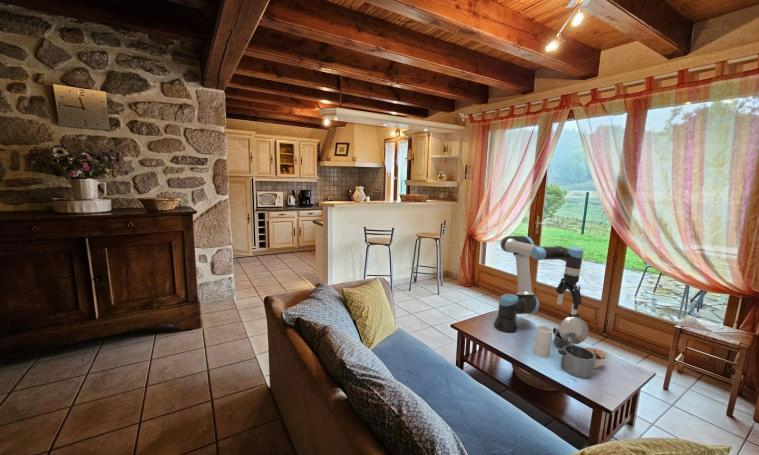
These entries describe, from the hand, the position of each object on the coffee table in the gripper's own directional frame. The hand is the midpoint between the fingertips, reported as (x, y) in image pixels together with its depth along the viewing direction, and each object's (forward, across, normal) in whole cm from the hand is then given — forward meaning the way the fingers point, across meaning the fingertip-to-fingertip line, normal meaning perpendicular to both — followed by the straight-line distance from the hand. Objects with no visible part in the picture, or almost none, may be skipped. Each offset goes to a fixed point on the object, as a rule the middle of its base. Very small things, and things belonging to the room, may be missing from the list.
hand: (566, 309), depth 187 cm
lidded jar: (+29, +10, +14) cm, 34 cm away
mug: (+29, -11, +7) cm, 32 cm away
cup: (+29, -1, -10) cm, 31 cm away
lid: (+9, +6, +2) cm, 11 cm away
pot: (+29, +15, +1) cm, 33 cm away
